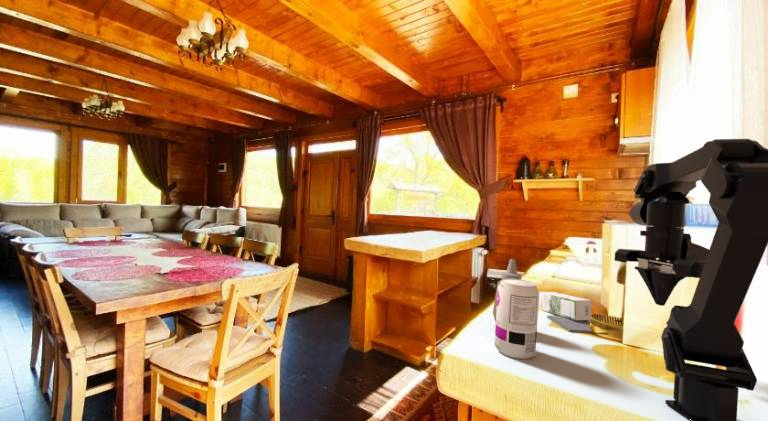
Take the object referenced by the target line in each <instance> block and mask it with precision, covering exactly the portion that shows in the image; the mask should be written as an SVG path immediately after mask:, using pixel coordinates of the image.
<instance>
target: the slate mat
mask: <svg viewBox="0 0 768 421" xmlns="http://www.w3.org/2000/svg"><path fill="white" fill-rule="evenodd" d="M546 318H547V319H549V320H550V321H551V322H554V323H555V324H556V325H558V326H559V327H561V328H563V329H564V330H566V331H567V332H569V333H586V334H593V333H592V332H593V331H592V330H591V329H590V322H591V321H590V320H573V319H569V318H566V317H563V316H559V315H546Z"/></svg>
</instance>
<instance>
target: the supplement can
mask: <svg viewBox="0 0 768 421" xmlns="http://www.w3.org/2000/svg"><path fill="white" fill-rule="evenodd" d="M500 280H501V283H500V284H499V286H498V293H497V311H496V323H495V331H494V347H495V348H496V349H497V351H498V352H499V353H501V355H505V356H506V357H509V358H512V359H519V360H527V359H531V358H532V357H534V356H535V355H536V352H537V337H538V336H537V335H538V319H539V318H538V317H539V292H540V291H539V289H538V287H537V283H535V282H532V281H529V280H525V279H521V280H520V279H502V278H501V279H500Z"/></svg>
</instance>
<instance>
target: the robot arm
mask: <svg viewBox="0 0 768 421" xmlns="http://www.w3.org/2000/svg"><path fill="white" fill-rule="evenodd" d="M699 181H700V182H701V184H703V186H704V188H706V190H707V191H708V192H709V194H710V195H709V200H708V204H709V206H710V208H711V210H712V213H713V214H714V216H715V218H716V220H717V221H718V222H717V223H718V224H717V227H716V229H715V232H714V235H713V238H712V241H711V243H710V244H711V245H710V247H709V248H706V247H704V246H702V245H699V244H697V243H695V242H694V243H693V242H692V236H691V234H690V233H685V221H686V220H685V218H686V205H688V204H690V199H689V198H688V197H687V196H688V194H689V193H690V192H691V191H692V190H694V189H695V188H696V187H697V182H699ZM633 192H634V199H640V201H637V202H636V203H634V204H633V205H632V206H631V208H630V209H629V217H630V219H631V220H632V222H633V223H635V224H637V225H639V226H645V230H640V232H639V235H640V236H641V237H645V240H644V241H645V242H644V250H641V249H628V248H618V249H617V250H616V251H615V252H614V261H615V262H618V263H619V262H620V263H627V262H635V263H637V266H634V270H637V272H638V274H639V275H640V277H641V279H642V280H643V282H644V283H645V285H646V287H647V289H648V292H649V293H650V295H651V297H652V299H653V301H654V303H655V304H656V305H657V306H665V305H666V303H667V301H668V299H669V298H670V296H671V294H672V292H673V291H674V289H675V287H676V286H677V285H678V283H680V282H681V281H682V280H683V279H685V278H696V279H699V280H698V281H697V282H698V283H697V284H696V287H695V291H694V293H693V296H692V298H691V302H690V303H689V305H687V306H684V305H674V306H673V307H672V308H671V310H670V312H669V318H668V320H667V321H666V322H665V323H666V327H665V328H663V331H662V333H661V336H660V338H661V343H662V352H663V353H662V354H663V360H664V364H665V370H666V371H668V372H670V373H673V374H674V381H673V382H674V383H673V384H674V385H673V399H672V400H671V399H666V400H665V405H667V407H670V408H671V409H673V410H674V411H676V412H677V413H679V414H680V415H681V416H683V417H685V418H686V419H688V420H689V419H691V420H692V421H737V418H738V405H739V404H738V402H739V388H740V389H745V390H747V391H754V390H755V386H756V385H757V382H758V379H757V376H756V374H755V372H754V370H753V368H752V366H751V363H750V362H749V360H748V357H747V355H746V353H745V350H744V349H743V347H744V344H745V342H744V339H743V337H742V336H741V334H740V331H739V330H738V328H737V326H736V324H735V323H736V320H737V317H738V315H739V313H740V310H741V308H742V306H743V304H744V301H745V298H746V296H747V294H748V292H749V291H750V290H749V289H750V287H751V284H752V282H753V280H754V277H755V275H756V273H757V271H758V268H759V266H760V263H761V262H762V258H763V257H764V254H765V251H766V250H767V247H768V148H766V147H765V146H763V145H762V144H761V143H759V141H756V140H753V139H750V138H718V139H715V138H714V139H713V140H710V141H708V140H707V141H706V142H705V143H704V144H703V146H702V147H700V148H698V149H696V150H694V151H691V152H690V153H688V154H686V155H684V156H682V157H680V158H678V159H676V160H674V161H672V162H661V163H651V164H650V165H648V166H647V167H646V168H645V170H643V171H642V173H641V175H640V176H639V178H638V181H637V183H636V186H635V187H634V190H633ZM686 361H689V362H695V363H698V364H695V363H694V364H693V363H688V362H686ZM699 363H700V364H699ZM701 364H707V365H710V366H705V365H701ZM711 365H712V366H718V367H723V368H725V369H722V368H718V367H711ZM691 420H690V421H691Z"/></svg>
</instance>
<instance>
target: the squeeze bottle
mask: <svg viewBox="0 0 768 421" xmlns="http://www.w3.org/2000/svg"><path fill="white" fill-rule="evenodd" d="M502 279H520V280H522V274H521V273H518V270H517V264H516V259H514V258H510V259H509V261H508V265H507V269H506V271H502V272H501V279H500V280H499V281H497V284H496V290H495V295H494V296H495V297H494V303H493V310H492V315H493V318H494V321H495V324H496V311H497V293H498V286H499V284H500V283H501V280H502Z"/></svg>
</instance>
